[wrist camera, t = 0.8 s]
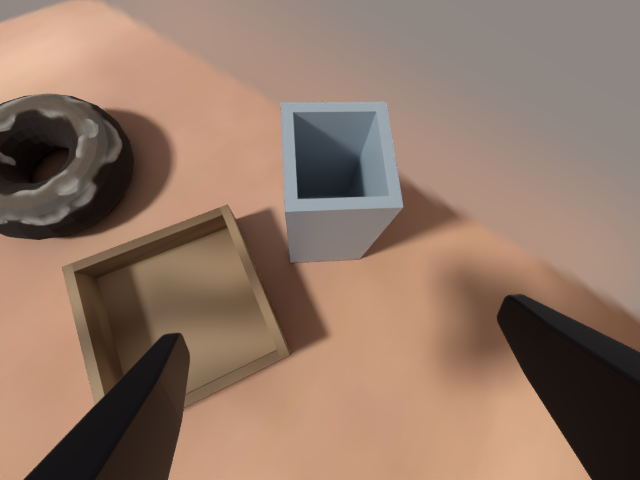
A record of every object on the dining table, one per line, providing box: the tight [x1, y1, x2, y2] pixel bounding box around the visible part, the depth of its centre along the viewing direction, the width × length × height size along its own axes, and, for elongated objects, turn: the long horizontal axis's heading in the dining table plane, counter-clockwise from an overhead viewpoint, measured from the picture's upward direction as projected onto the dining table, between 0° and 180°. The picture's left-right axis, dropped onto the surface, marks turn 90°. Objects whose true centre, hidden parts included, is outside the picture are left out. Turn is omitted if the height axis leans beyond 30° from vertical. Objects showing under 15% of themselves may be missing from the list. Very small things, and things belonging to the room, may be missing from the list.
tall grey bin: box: [281, 102, 403, 263], centre depth 20 cm, size 6×6×10 cm
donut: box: [0, 94, 133, 240], centre depth 23 cm, size 12×12×4 cm
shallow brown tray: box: [62, 205, 291, 407], centre depth 20 cm, size 11×11×3 cm
